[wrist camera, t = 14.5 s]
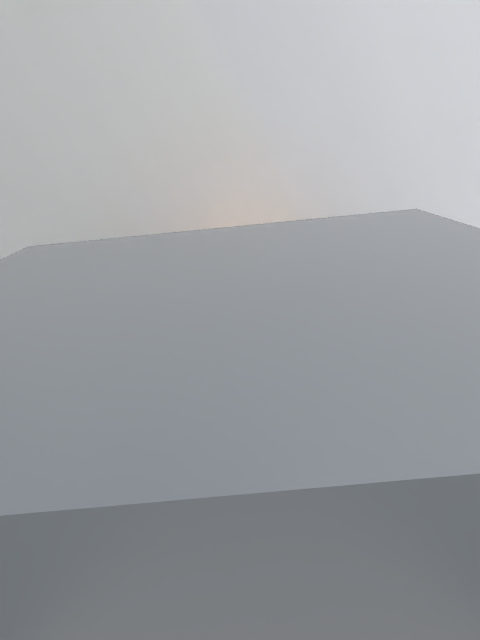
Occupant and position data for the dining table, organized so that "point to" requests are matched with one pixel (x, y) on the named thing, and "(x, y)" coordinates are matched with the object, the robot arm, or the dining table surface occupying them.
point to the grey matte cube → (243, 433)
